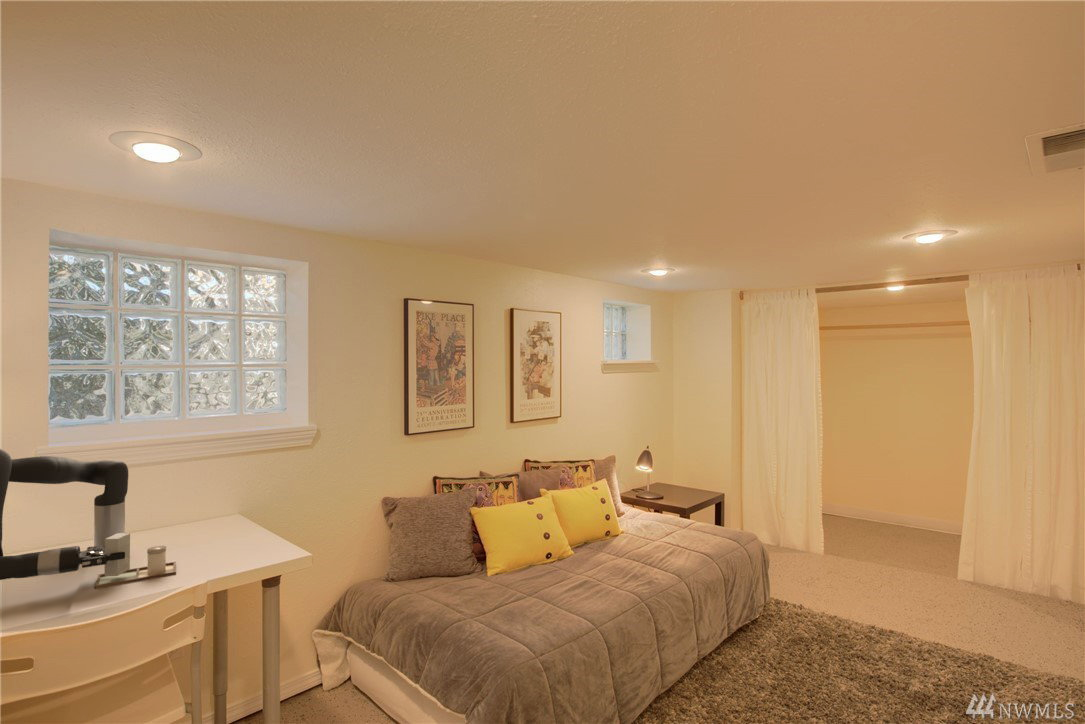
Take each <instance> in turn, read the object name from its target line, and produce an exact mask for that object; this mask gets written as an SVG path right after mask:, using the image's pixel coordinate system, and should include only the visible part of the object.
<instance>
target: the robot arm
mask: <svg viewBox="0 0 1085 724" xmlns="http://www.w3.org/2000/svg"><path fill="white" fill-rule="evenodd" d="M11 457H12V456H11V455H10V453H8V452H7V451H5V450H4V449H2V448H0V581H2V580H3V581H5V580H8V579H9V580H10V579H25V578H32V577H39V576H52V575H57V574H58V575H59V574H65V573H66V574H67V573H71V572H77V571H79V569H80V565H81V568H83V569H84V568H85V569H86V568H91V567H97V566H102V565H104V566H105V564H107V562H110V561H113V560H120V559H124V558H125V552H124V551H123V552H116V553H111V554H110V553H105V539H106V538H108V537H110V536H113V535H115V534H117V533H126V496H127V494H128V486H129V467H128V465H127V464H126V463H125V462H124V461H120V460H92V461H91V460H90V461H88V460H87V461H83V460H82V461H79V460H75V459H72V458H69V457H63V456H51V455H50V456H48V455H41V456H31V457H22V458H13V459H12V458H11ZM10 482H11V483H22V484H23V483H24V484H44V485H61V484H68V483H75V482H77V483H87V484H93V485H98V486H104V489H103V490H104V491H103V493H102V494H99V495H96V496H95V498H94V503H93V506H94V507H93V508H94V509H93V512H94V514H93V515H94V517H93V518H94V521H93V526H94V527H93V529H94V530H93V538H94V540H93V546H88V547H87V550H82V551H81V548H80V545H75V546H74V545H73V546H67V547H60V548H52V549H47V550H43V551H36V552H29V553H23V554H17V555H16V554H15V555H4V552H3V543H2V542H3V517H4V516H3V515H4V505H5V501H6V497H7V491H8V487H9V483H10Z"/></svg>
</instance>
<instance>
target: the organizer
mask: <svg viewBox="0 0 1085 724" xmlns="http://www.w3.org/2000/svg"><path fill="white" fill-rule="evenodd" d="M176 565H177V564H176V561H171V562H166V571H165V572H164V573H161V574H157V575H148V565H147V566H141V567H136V568H130V569H129V570H127V571H125V572H123V573H122V574H120V575H118V576H105V573H100V574H98V575H97V579H96V582H95V585H94V589H101V588H107V587H111V586H112V587H113V586H119V585H123V584H124V585H125V584H129V583H134V582H141V581H146V580H151V579H157V578H162V577H163V578H164V577H167V576H175V575H177V571H176V570H177V569H176V568H177V567H176Z"/></svg>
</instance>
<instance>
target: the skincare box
mask: <svg viewBox="0 0 1085 724" xmlns="http://www.w3.org/2000/svg"><path fill="white" fill-rule="evenodd" d="M123 551H124V552H125V558H124V559H120V560H113V561H110V562H107V564H105V565H104V574H105V576H118V575H120V574H122V573H123V572H125V571H127V570H129V569H131V533H130V532H129V533H128V532H127V533H126V532H125V533H117V534H115V535H113V536H110V537H108V538H106V539H105V553H110V554H111V553H116V552H123Z"/></svg>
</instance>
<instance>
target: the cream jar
mask: <svg viewBox="0 0 1085 724" xmlns="http://www.w3.org/2000/svg"><path fill="white" fill-rule="evenodd" d="M146 552H147V566H148V575H157V574H161V573H164V572H165V571H166V563H167V560H166V559H167V557H166V555H167V553H166V552H167V546H166V545H155V546H151V547H149V548H147V549H146Z"/></svg>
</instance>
